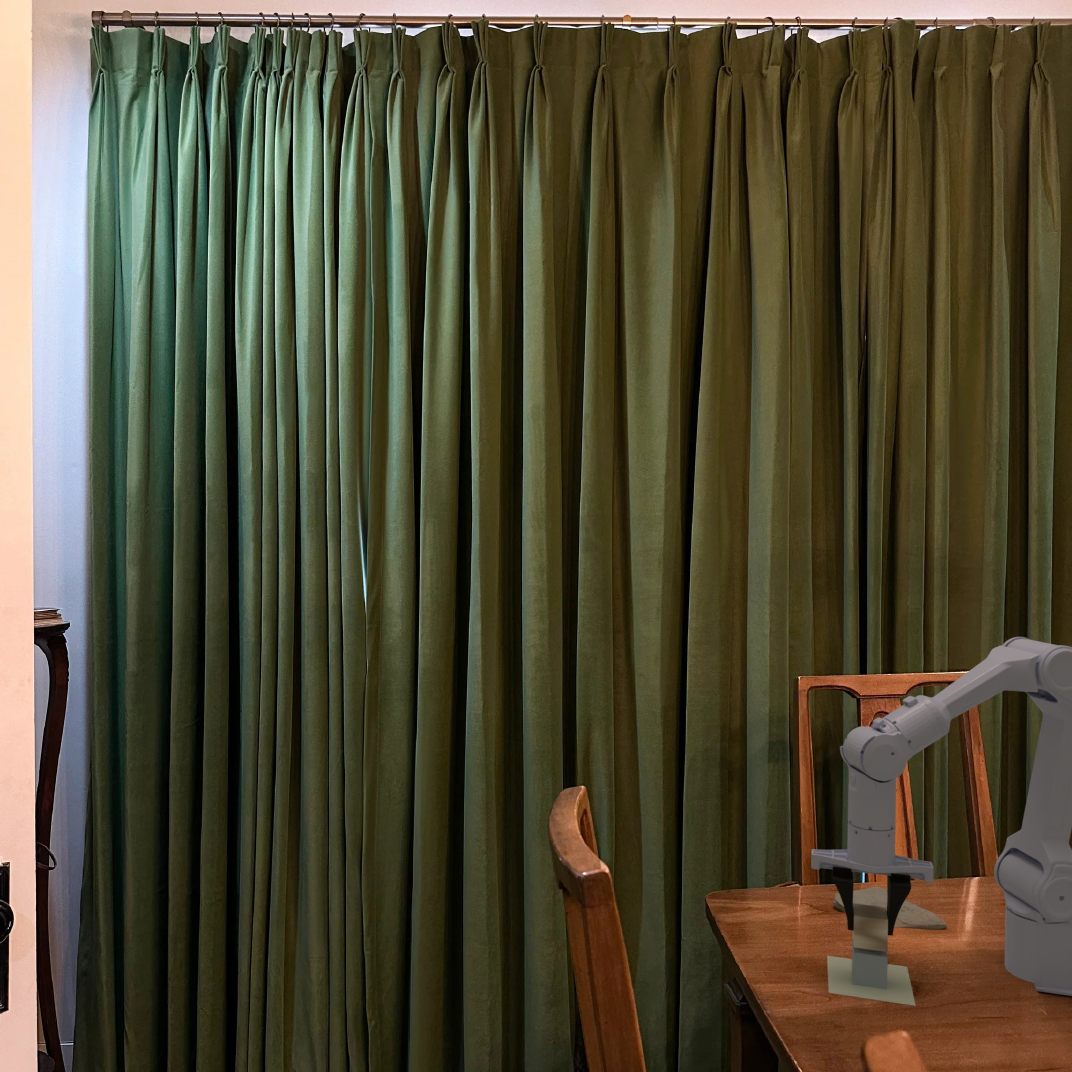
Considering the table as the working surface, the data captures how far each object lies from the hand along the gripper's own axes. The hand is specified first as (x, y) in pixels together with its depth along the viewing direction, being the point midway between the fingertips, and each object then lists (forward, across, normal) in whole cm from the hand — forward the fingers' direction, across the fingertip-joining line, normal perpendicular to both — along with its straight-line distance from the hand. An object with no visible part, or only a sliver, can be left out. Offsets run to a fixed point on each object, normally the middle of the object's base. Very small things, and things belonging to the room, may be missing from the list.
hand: (869, 929), depth 116 cm
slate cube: (+6, 0, 0) cm, 6 cm away
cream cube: (+2, 0, 0) cm, 2 cm away
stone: (+8, -4, -23) cm, 25 cm away
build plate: (+7, 0, 0) cm, 7 cm away
